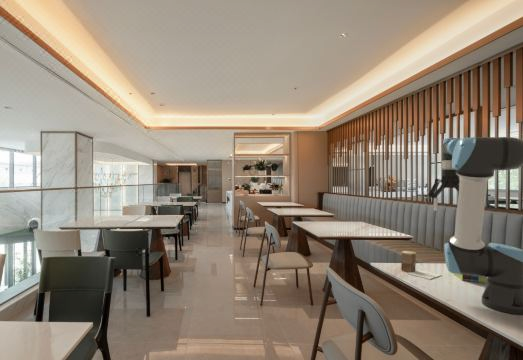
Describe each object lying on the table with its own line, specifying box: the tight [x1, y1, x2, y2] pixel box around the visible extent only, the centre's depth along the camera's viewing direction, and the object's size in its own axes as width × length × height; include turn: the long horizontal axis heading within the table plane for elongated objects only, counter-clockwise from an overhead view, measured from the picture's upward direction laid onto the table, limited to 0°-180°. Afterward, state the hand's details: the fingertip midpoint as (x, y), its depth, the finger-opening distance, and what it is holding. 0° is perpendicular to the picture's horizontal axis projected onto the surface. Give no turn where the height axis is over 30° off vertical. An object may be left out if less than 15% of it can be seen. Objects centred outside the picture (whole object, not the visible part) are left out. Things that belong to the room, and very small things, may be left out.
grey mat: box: [407, 269, 442, 280], centre depth 165 cm, size 12×11×1 cm
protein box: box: [452, 273, 487, 284], centre depth 163 cm, size 10×15×16 cm
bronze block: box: [400, 250, 417, 273], centre depth 171 cm, size 5×5×10 cm
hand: (449, 211), depth 163 cm, fingers open, 13 cm apart
